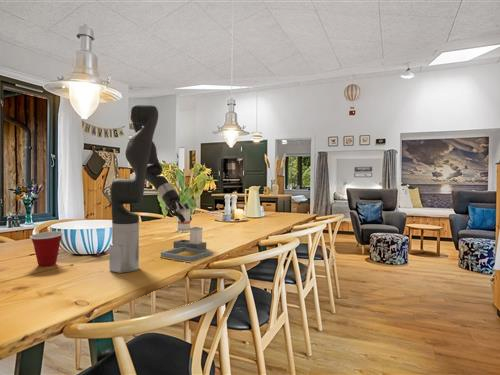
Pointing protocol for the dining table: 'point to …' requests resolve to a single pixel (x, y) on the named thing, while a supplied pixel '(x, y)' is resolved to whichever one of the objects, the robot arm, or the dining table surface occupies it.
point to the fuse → (196, 235)
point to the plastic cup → (46, 247)
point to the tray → (187, 258)
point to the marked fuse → (186, 224)
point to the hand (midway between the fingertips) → (187, 220)
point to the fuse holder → (189, 244)
